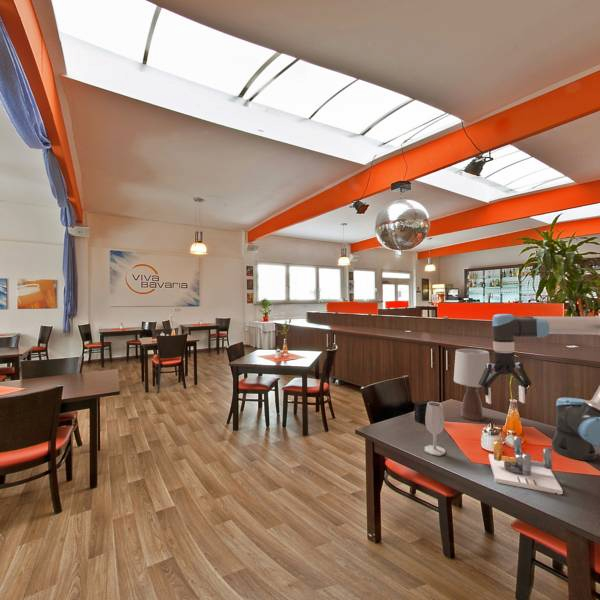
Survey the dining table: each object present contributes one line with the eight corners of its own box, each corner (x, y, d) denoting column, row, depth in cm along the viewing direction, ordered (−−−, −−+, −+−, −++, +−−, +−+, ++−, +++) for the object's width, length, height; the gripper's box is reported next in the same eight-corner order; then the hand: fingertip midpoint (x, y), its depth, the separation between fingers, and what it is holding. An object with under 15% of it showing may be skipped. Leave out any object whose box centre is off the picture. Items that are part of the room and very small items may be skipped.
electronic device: (414, 420, 181) (414, 402, 181) (429, 418, 184) (429, 400, 184) (419, 423, 177) (419, 404, 177) (435, 420, 180) (434, 402, 180)
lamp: (492, 414, 188) (492, 349, 187) (490, 426, 172) (490, 355, 171) (456, 409, 198) (455, 347, 197) (451, 419, 182) (451, 352, 181)
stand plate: (546, 466, 132) (546, 462, 132) (562, 494, 113) (562, 489, 113) (488, 457, 140) (488, 453, 140) (495, 482, 121) (495, 477, 121)
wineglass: (428, 445, 152) (427, 399, 151) (448, 450, 146) (448, 403, 146) (421, 452, 145) (421, 404, 144) (442, 458, 139) (441, 408, 139)
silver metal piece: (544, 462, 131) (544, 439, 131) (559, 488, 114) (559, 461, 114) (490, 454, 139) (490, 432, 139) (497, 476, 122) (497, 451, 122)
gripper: (528, 349, 141) (530, 398, 141) (468, 350, 142) (470, 400, 142) (540, 352, 133) (542, 404, 133) (477, 353, 134) (479, 406, 134)
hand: (505, 402), depth 138 cm, fingers open, 13 cm apart
